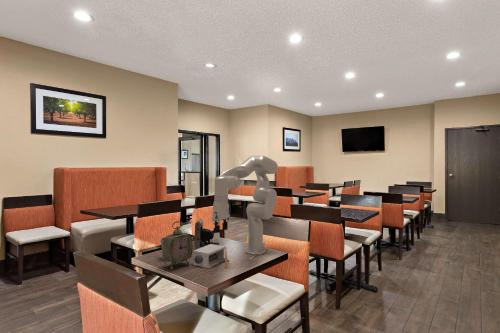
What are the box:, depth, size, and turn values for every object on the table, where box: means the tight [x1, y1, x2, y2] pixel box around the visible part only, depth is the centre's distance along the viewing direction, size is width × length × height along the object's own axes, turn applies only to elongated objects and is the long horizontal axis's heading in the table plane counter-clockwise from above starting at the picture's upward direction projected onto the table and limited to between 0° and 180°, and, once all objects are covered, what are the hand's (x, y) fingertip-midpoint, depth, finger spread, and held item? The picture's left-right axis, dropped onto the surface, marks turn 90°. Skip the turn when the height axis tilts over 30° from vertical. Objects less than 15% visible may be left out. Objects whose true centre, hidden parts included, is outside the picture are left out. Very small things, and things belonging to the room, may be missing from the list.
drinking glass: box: [160, 237, 166, 261], centre depth 177 cm, size 10×10×12 cm
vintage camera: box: [193, 219, 220, 251], centre depth 194 cm, size 10×16×20 cm, turn 89°
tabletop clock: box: [163, 220, 194, 271], centre depth 163 cm, size 14×9×25 cm, turn 139°
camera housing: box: [192, 244, 227, 269], centre depth 169 cm, size 18×11×8 cm, turn 150°
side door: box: [224, 247, 230, 269], centre depth 166 cm, size 15×2×7 cm, turn 5°
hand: (221, 230), depth 163 cm, fingers open, 6 cm apart
